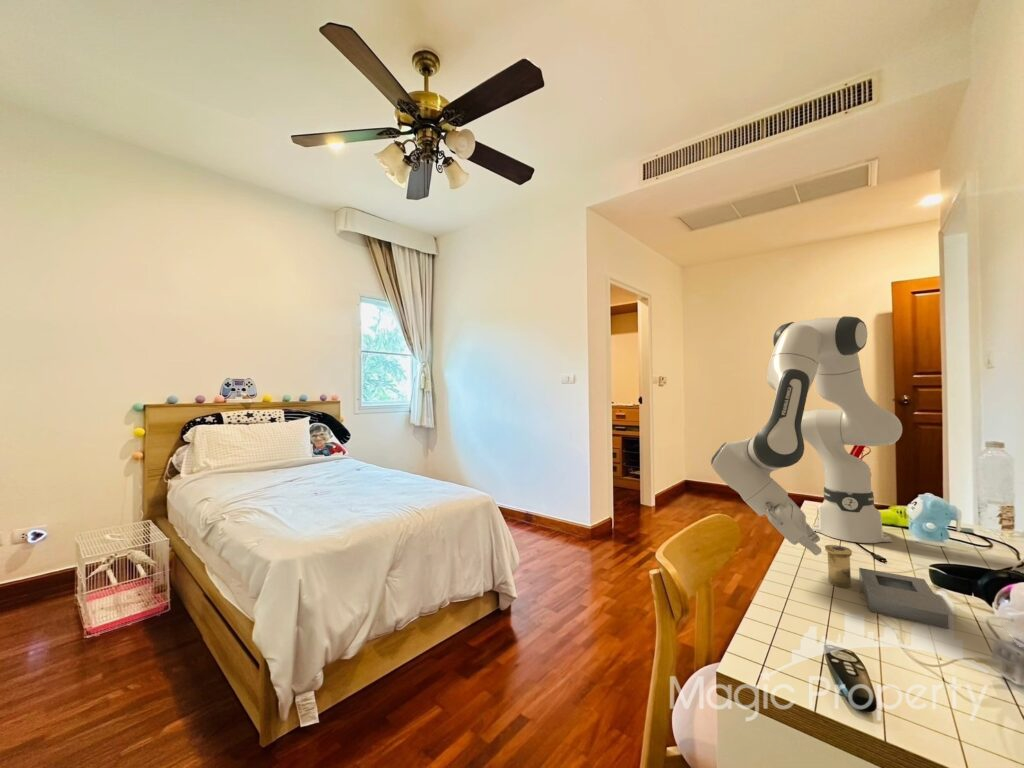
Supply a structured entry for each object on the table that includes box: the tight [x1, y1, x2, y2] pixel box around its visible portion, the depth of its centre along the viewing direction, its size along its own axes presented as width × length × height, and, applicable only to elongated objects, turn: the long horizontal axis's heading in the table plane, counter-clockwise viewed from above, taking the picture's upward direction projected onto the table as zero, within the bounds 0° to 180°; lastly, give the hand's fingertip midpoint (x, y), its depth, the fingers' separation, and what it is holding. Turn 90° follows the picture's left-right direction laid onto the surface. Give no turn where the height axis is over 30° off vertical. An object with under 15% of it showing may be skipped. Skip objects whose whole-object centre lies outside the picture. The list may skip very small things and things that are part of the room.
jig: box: [858, 567, 950, 630], centre depth 86 cm, size 18×11×2 cm, turn 145°
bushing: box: [824, 544, 853, 589], centre depth 94 cm, size 5×5×8 cm
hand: (818, 546), depth 96 cm, fingers open, 8 cm apart
